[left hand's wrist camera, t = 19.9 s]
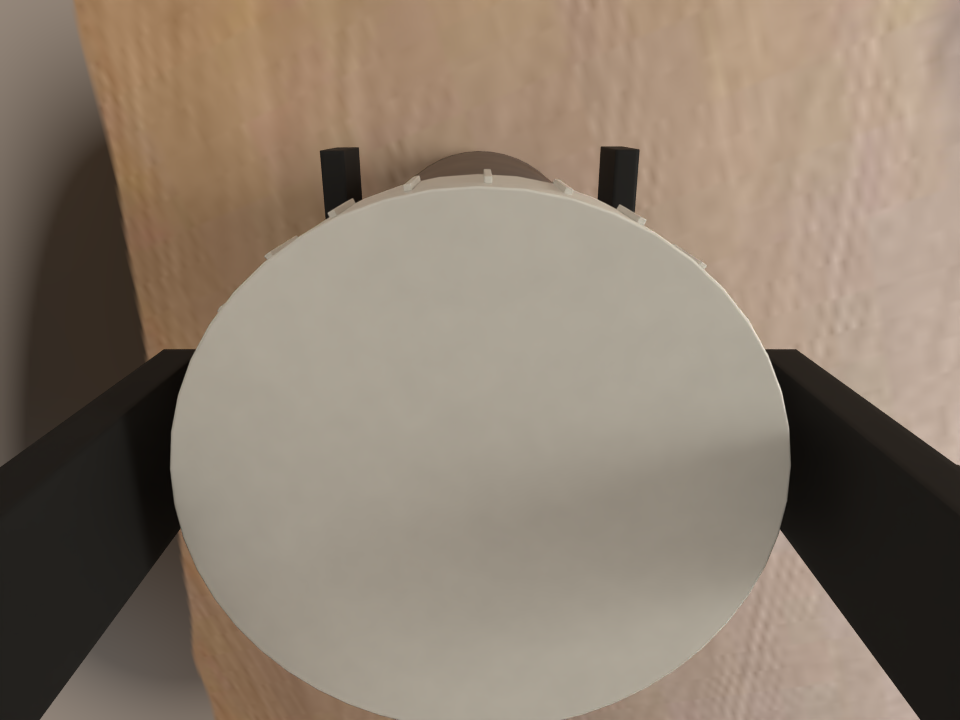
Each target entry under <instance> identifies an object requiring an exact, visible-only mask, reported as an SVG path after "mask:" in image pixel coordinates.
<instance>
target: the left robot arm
mask: <svg viewBox="0 0 960 720" xmlns="http://www.w3.org/2000/svg"><path fill="white" fill-rule="evenodd" d="M195 350H196V349H164V350H162V351H161V352H160V353H158V354H157V355H156V356H154V357H153V358H151V359H150V360H149V361H147V362H146V363H144V364H143V365H142V366H140V367H139V368H137V369H136V370H135V371H133V372H132V373H131V374H129V375H128V376H126V377H125V378H124V379H122V380H121V381H119V382H118V383H117V384H115V385H114V386H113V387H111V388H110V389H108V390H107V391H106V392H104V393H103V394H101V395H100V396H99V397H97V398H96V399H94V400H93V401H92V402H90V403H89V404H88V405H86V406H85V407H83V408H82V409H81V410H79V411H78V412H76V413H75V414H74V415H72V416H71V417H70V418H68V419H67V420H65V421H64V422H62V423H61V424H60V425H58V426H57V427H56V428H54V429H53V430H51V431H50V432H49V433H47V434H46V435H44V436H43V437H42V438H40V439H39V440H38V441H36V442H35V443H33V444H32V445H31V446H29V447H28V448H26V449H25V450H24V451H22V452H21V453H19V454H18V455H17V456H15V457H14V458H12V459H11V460H10V461H8V462H7V463H6V464H4V465H3V466H1V467H0V720H40V718H41V717H42V716H43V714H44V713H45V712H46V710H47V709H48V708H49V706H50V705H51V703H52V702H53V701H54V699H55V698H56V697H57V695H58V694H59V693H60V691H61V690H62V689H63V687H64V686H65V685H66V683H67V682H68V680H69V679H70V678H71V676H72V675H73V674H74V672H75V671H76V670H77V668H78V667H79V665H80V664H81V663H82V661H83V660H84V659H85V657H86V656H87V655H88V653H89V652H90V651H91V649H92V648H93V647H94V645H95V644H96V642H97V641H98V640H99V638H100V637H101V636H102V634H103V633H104V632H105V630H106V629H107V627H108V626H109V625H110V623H111V622H112V621H113V619H114V618H115V617H116V615H117V614H118V613H119V611H120V610H121V608H122V607H123V606H124V604H125V603H126V602H127V600H128V599H129V598H130V596H131V595H132V594H133V592H134V591H135V589H136V588H137V587H138V585H139V584H140V583H141V581H142V580H143V579H144V577H145V576H146V575H147V573H148V572H149V571H150V569H151V568H152V566H153V565H154V564H155V562H156V561H157V560H158V558H159V557H160V556H161V554H162V553H163V552H164V550H165V549H166V547H167V546H168V545H169V543H170V542H171V541H172V539H173V538H174V537H175V535H176V534H177V533H178V531H179V530H180V528H181V527H180V523H179V520H178V516H177V512H176V509H175V505H174V498H173V489H172V481H171V473H170V455H171V430H172V425H173V420H174V414H175V409H176V404H177V398H178V394H179V391H180V388H181V385H182V383H183V380H184V377H185V374H186V371H187V368H188V366H189V363H190V360H191V358H192V356H193V354H194V352H195ZM765 350H766V352H767V354H768V356H769V358H770V361H771V364H772V367H773V369H774V372H775V375H776V377H777V380H778V383H779V385H780V388H781V391H782V395H783V400H784V405H785V410H786V415H787V420H788V425H789V436H790V458H791V469H790V478H789V488H788V497H787V503H786V507H785V511H784V515H783V519H782V523H781V526H780V530H781V531H782V533H783V534H784V535H785V537H786V538H787V539H788V541H789V542H790V543H791V545H792V546H793V547H794V549H795V550H796V552H797V553H798V554H799V556H800V557H801V558H802V560H803V561H804V562H805V564H806V565H807V566H808V568H809V569H810V571H811V572H812V573H813V575H814V576H815V577H816V579H817V580H818V581H819V583H820V584H821V585H822V587H823V588H824V590H825V591H826V592H827V594H828V595H829V596H830V598H831V599H832V600H833V602H834V603H835V604H836V606H837V607H838V609H839V610H840V611H841V613H842V614H843V615H844V617H845V618H846V619H847V621H848V622H849V623H850V625H851V626H852V628H853V629H854V630H855V632H856V633H857V634H858V636H859V637H860V638H861V640H862V641H863V642H864V644H865V645H866V647H867V648H868V649H869V651H870V652H871V653H872V655H873V656H874V657H875V659H876V660H877V661H878V663H879V664H880V666H881V667H882V668H883V670H884V671H885V672H886V674H887V675H888V676H889V678H890V679H891V680H892V682H893V683H894V685H895V686H896V687H897V689H898V690H899V691H900V693H901V694H902V695H903V697H904V698H905V699H906V701H907V702H908V704H909V705H910V706H911V708H912V709H913V710H914V712H915V713H916V714H917V716H918V717H919V719H920V720H960V466H959V465H956V464H954V463H953V462H952V461H950V460H949V459H948V458H946V457H945V456H943V455H942V454H941V453H939V452H938V451H936V450H935V449H934V448H932V447H931V446H929V445H928V444H927V443H925V442H924V441H923V440H921V439H920V438H918V437H917V436H916V435H914V434H913V433H911V432H910V431H909V430H907V429H906V428H904V427H903V426H902V425H900V424H899V423H898V422H896V421H895V420H893V419H892V418H891V417H889V416H888V415H886V414H885V413H884V412H882V411H881V410H879V409H878V408H877V407H875V406H874V405H873V404H871V403H870V402H868V401H867V400H866V399H864V398H863V397H861V396H860V395H859V394H857V393H856V392H854V391H853V390H852V389H850V388H849V387H848V386H846V385H845V384H843V383H842V382H841V381H839V380H838V379H836V378H835V377H834V376H832V375H831V374H829V373H828V372H827V371H825V370H824V369H823V368H821V367H820V366H818V365H817V364H816V363H814V362H813V361H811V360H810V359H809V358H807V357H806V356H804V355H803V354H802V353H800V352H799V351H798V350H796V349H765Z"/></svg>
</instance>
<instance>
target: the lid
mask: <svg viewBox="0 0 960 720" xmlns="http://www.w3.org/2000/svg"><path fill="white" fill-rule="evenodd" d="M328 215H329V218H327V219H326V220H324V221H323V222H321V223H320V224H318V225H316V226H315V227H313V228H312V229H310V230H309V231H307V232H305V233H304V234H302V235H301V236H299V237H297V236H294V237H293V238H291V239H289V240H288V241H286V242H285V243H283V244H281V245H280V246H278V247H276V248H275V249H273V250H272V251H270V252H269V253H267V254H266V255H265V256H264V257H265V258H266V259H267V260H266V261H265V262H264V263H263V264H262V265H261V266H260V267H259V268H258V269H257V270H256V271H255V272H254V273H253V274H252V275H251V276H250V277H249V278H248V279H246V280H245V281H244V282H243V283H242V284H241V285H240V286H239V287H238V288H237V289H236V290H235V291H234V292H233V294H232V295H231V296H230V298H229V299H228V300H227V302H226V303H224V304H223V305H222V306H220V308H219V309H218V311H217V312H218V314H217V315H216V316H215V318H214V319H213V320H212V322H211V323H210V324H209V326H208V328H207V330H206V332H205V334H204V335H203V337H202V339H201V341H200V343H199V345H198V347H197V349H196V350H195V352H194V354H193V356H192V358H191V360H190V363H189V366H188V368H187V371H186V374H185V377H184V380H183V383H182V385H181V388H180V391H179V394H178V398H177V404H176V409H175V414H174V420H173V425H172V430H171V455H170V473H171V481H172V489H173V498H174V505H175V509H176V512H177V516H178V520H179V523H180V527H181V531H182V534H183V538H184V540H185V543H186V545H187V547H188V550H189V552H190V554H191V557H192V559H193V561H194V564H195V566H196V568H197V570H198V572H199V574H200V575H201V577H202V579H203V580H204V582H205V584H206V585H207V587H208V589H209V590H210V592H211V594H212V595H213V597H214V599H215V600H216V601H217V603H218V604H219V605H220V606H221V608H222V609H223V610H224V611H225V613H226V614H227V615H228V616H229V618H230V619H231V620H232V621H233V623H234V624H235V625H236V626H237V627H238V628H239V629H240V630H241V631H242V632H243V633H244V634H245V635H246V636H247V637H248V638H249V639H250V640H251V641H252V642H253V643H254V644H255V645H256V646H257V647H258V648H259V649H260V650H261V651H262V652H264V653H265V654H266V655H267V656H269V657H270V658H271V659H273V660H274V661H275V662H276V663H278V664H279V665H280V666H282V667H283V668H284V669H285V670H287V671H288V672H290V673H291V674H293V675H295V676H296V677H298V678H299V679H301V680H303V681H304V682H306V683H308V684H309V685H311V686H312V687H314V688H316V689H317V690H320V691H322V692H324V693H326V694H328V695H330V696H332V697H334V698H336V699H339V700H341V701H343V702H345V703H347V704H349V705H352V706H355V707H358V708H361V709H364V710H366V711H369V712H372V713H375V714H378V715H381V716H385V717H389V718H393V719H397V720H564V719H568V718H572V717H575V716H579V715H583V714H586V713H589V712H592V711H594V710H597V709H600V708H603V707H605V706H608V705H611V704H613V703H616V702H618V701H620V700H622V699H624V698H626V697H628V696H631V695H633V694H635V693H637V692H639V691H641V690H643V689H645V688H647V687H649V686H650V685H652V684H653V683H655V682H656V681H658V680H660V679H661V678H663V677H664V676H666V675H668V674H669V673H671V672H672V671H674V670H675V669H677V668H678V667H679V666H681V665H682V664H683V663H684V662H686V661H687V660H688V659H689V658H691V657H692V656H693V655H694V654H696V653H697V652H698V651H699V650H701V649H702V648H703V647H704V646H705V645H706V644H707V643H708V642H709V641H710V640H711V639H712V638H713V637H714V636H715V635H716V634H717V633H718V632H719V631H720V630H721V629H722V628H723V627H724V626H725V625H726V624H727V623H728V621H729V620H730V619H731V617H732V616H733V615H734V614H735V612H736V611H737V610H738V608H739V607H740V606H741V604H742V603H743V602H744V601H745V599H746V598H747V597H748V595H749V593H750V592H751V590H752V588H753V587H754V585H755V583H756V581H757V580H758V578H759V576H760V575H761V573H762V571H763V569H764V568H765V566H766V563H767V561H768V559H769V556H770V554H771V551H772V549H773V546H774V544H775V542H776V539H777V537H778V534H779V530H780V526H781V523H782V519H783V515H784V511H785V507H786V503H787V497H788V488H789V478H790V469H791V458H790V436H789V425H788V420H787V415H786V410H785V405H784V400H783V395H782V391H781V388H780V385H779V383H778V380H777V377H776V375H775V372H774V369H773V367H772V364H771V361H770V358H769V356H768V354H767V352H766V350H765V349H764V347H763V345H762V343H761V341H760V340H759V338H758V336H757V334H756V332H755V331H754V329H753V327H752V325H751V323H750V321H749V319H748V317H746V316H745V315H744V314H743V312H742V311H741V310H740V309H739V307H738V306H737V305H736V303H735V302H734V301H733V300H732V298H731V297H730V296H729V294H728V293H727V292H726V291H725V289H724V288H723V287H722V286H721V285H720V284H719V283H718V282H717V281H716V280H715V279H713V278H712V277H711V276H710V275H709V274H708V273H707V272H706V271H705V270H704V269H705V268H706V267H707V266H706V265H705V264H704V263H703V262H702V261H701V260H699V259H697V258H696V257H694V256H693V255H691V254H689V253H688V252H686V251H685V250H683V249H682V248H680V247H678V246H677V245H675V244H673V245H672V244H671V243H670V242H668V241H667V240H665V239H664V238H663V237H661V236H660V235H658V234H657V233H655V232H654V231H652V230H651V229H649V228H647V227H646V226H644V224H645V222H646V219H644V218H642V217H641V216H639V215H637V214H636V213H634V212H632V211H630V210H629V209H627V208H625V207H624V206H622V205H620V204H619V206H618V208H617V209H615V208H613V207H611V206H609V205H607V204H606V203H604V202H602V201H600V200H598V199H596V198H594V197H592V196H589V195H586V194H583V193H580V192H577V191H574V190H573V189H572V188H571V187H569V186H568V185H567V184H565V183H564V182H562V181H561V180H558V179H554V182H553V183H548V182H543V181H538V180H533V179H528V178H523V177H518V176H502V175H492V174H491V169H484V174H472V175H459V176H446V177H437V178H432V179H427V180H423V181H421V180H420V176H414V177H412V178H411V179H410V180H409V181H408V182H406V183H405V184H404V185H400V186H397V187H395V188H392V189H389V190H386V191H384V192H381V193H378V194H375V195H373V196H370V197H367V198H364V199H363V200H361V201H359V202H357V203H355V201H354V199H353V198H352V199H350V200H348V201H346V202H345V203H343V204H341V205H340V206H338V207H336V208H335V209H333V210H331V211H330V212H328Z"/></svg>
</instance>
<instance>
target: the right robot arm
mask: <svg viewBox="0 0 960 720" xmlns="http://www.w3.org/2000/svg"><path fill="white" fill-rule="evenodd" d="M320 157H321V169H322V181H323V193H324V204H325V216H326V219H327V218H329V215H328V212H330V211H331V210H333V209H335V208H336V207H338V206H340V205H341V204H343V203H345V202H346V201H348V200H350V199H352V198H353V199H354V201H355V203H357V202H359V201H361V200H362V191H361V175H360V160H359V147H351V148H332V149H327V150H321V151H320ZM638 163H639V149H633V148H628V147H601V152H600V169H599V186H598V200H600V201H602V202H604V203H606V204H607V205H609V206H611V207H613V208H615V209H617V208H618V206H619V204H620V205H622V206H624V207H625V208H627V209H629V210H630V211H632V212H634V213H635V201H636V188H637V176H638Z"/></svg>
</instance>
